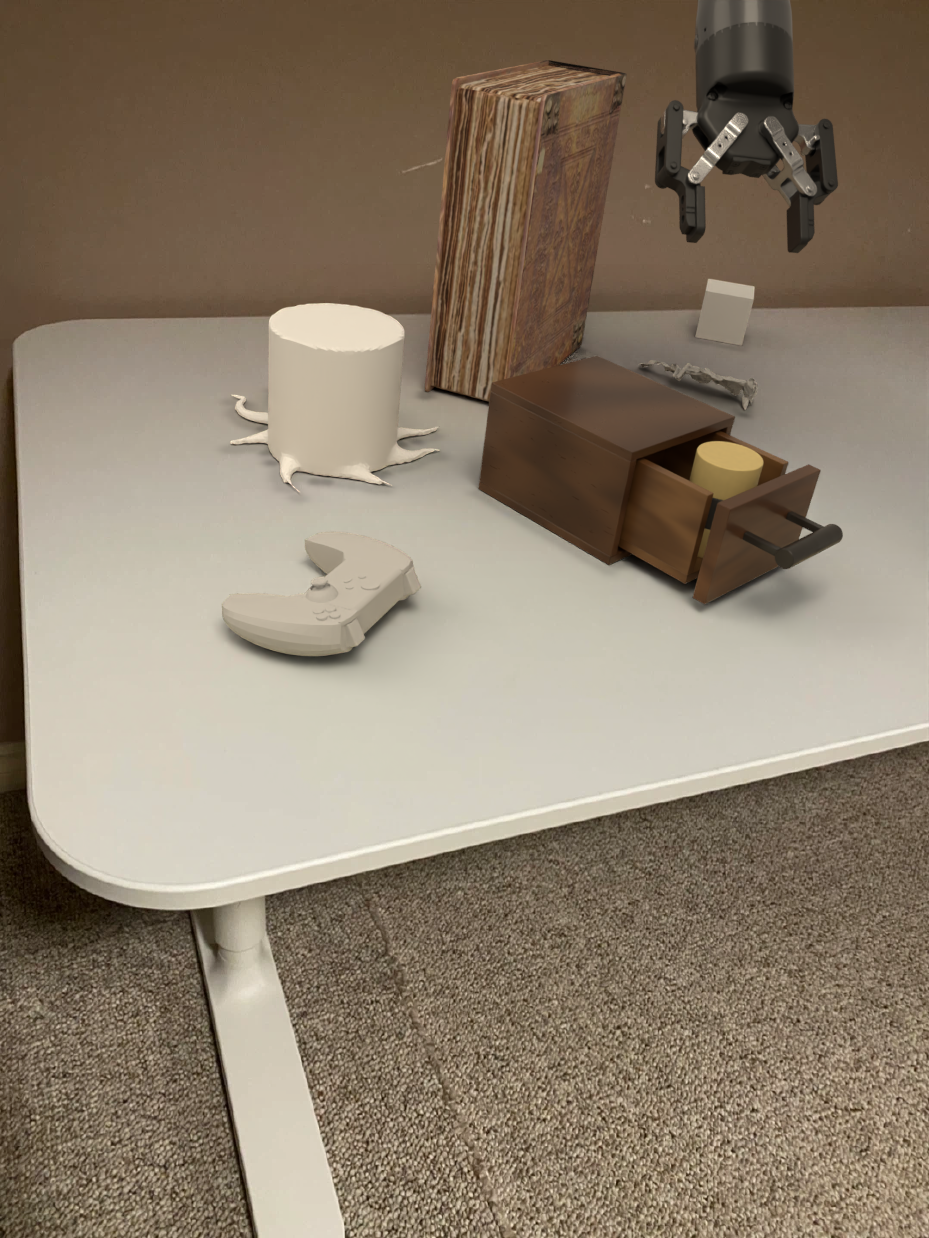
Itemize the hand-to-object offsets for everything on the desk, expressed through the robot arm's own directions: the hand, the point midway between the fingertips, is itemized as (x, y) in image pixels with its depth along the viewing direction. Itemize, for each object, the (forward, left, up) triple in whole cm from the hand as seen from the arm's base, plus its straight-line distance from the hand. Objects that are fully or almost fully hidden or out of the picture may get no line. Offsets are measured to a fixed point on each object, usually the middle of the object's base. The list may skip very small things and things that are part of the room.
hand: (747, 244), depth 84 cm
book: (+33, -11, -24) cm, 42 cm away
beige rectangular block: (+28, -45, -24) cm, 58 cm away
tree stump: (+28, +19, -24) cm, 42 cm away
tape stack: (-7, +6, -22) cm, 24 cm away
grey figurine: (+18, -26, -24) cm, 39 cm away
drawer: (-7, +6, -23) cm, 25 cm away
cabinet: (+5, +6, -24) cm, 25 cm away
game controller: (+4, +36, -24) cm, 44 cm away
